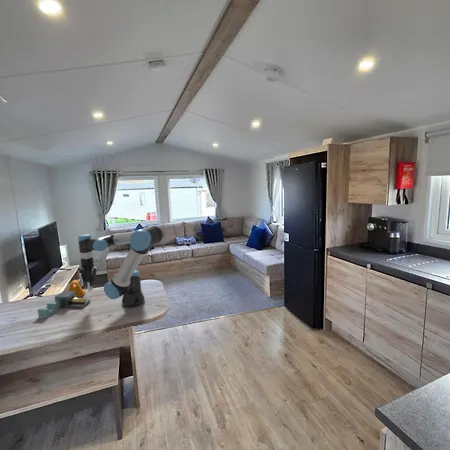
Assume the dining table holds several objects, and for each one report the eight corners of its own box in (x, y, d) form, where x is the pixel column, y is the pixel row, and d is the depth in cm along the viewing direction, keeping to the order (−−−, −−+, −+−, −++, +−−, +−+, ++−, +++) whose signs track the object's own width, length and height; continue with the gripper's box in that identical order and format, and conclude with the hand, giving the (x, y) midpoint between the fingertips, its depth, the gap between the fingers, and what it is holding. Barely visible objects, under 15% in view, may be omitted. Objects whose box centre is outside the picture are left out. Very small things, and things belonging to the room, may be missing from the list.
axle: (85, 301, 188) (85, 297, 187) (83, 303, 185) (82, 299, 184) (61, 300, 189) (61, 296, 189) (58, 302, 186) (58, 298, 186)
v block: (58, 309, 181) (57, 302, 180) (47, 317, 171) (46, 309, 170) (50, 309, 181) (49, 302, 180) (38, 317, 171) (37, 309, 170)
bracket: (85, 292, 207) (83, 277, 205) (83, 296, 201) (81, 281, 198) (69, 294, 204) (67, 279, 202) (67, 298, 197) (65, 283, 195)
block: (90, 302, 191) (88, 291, 189) (82, 308, 182) (80, 297, 181) (65, 301, 193) (63, 291, 191) (56, 307, 184) (54, 296, 182)
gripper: (99, 256, 183) (102, 288, 187) (81, 255, 184) (84, 288, 188) (92, 259, 175) (96, 293, 180) (73, 259, 177) (77, 292, 181)
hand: (90, 290), depth 184 cm, fingers closed
